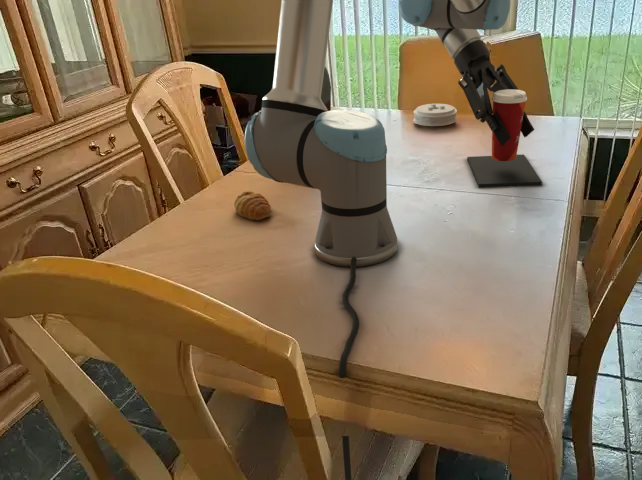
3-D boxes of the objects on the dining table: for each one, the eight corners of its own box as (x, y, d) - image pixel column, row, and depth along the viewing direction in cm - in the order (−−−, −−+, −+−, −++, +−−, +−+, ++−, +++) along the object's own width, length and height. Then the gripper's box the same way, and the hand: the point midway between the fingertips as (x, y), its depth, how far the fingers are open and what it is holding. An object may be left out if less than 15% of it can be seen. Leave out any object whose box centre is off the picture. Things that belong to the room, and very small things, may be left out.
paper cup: (527, 159, 142) (535, 93, 133) (498, 164, 139) (504, 98, 131) (508, 150, 147) (514, 87, 139) (480, 155, 145) (485, 91, 137)
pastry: (280, 216, 129) (278, 198, 127) (251, 225, 126) (248, 207, 124) (259, 204, 136) (257, 187, 133) (231, 212, 133) (228, 194, 130)
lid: (434, 115, 189) (435, 98, 186) (465, 123, 181) (466, 104, 178) (404, 124, 183) (404, 106, 180) (435, 132, 175) (435, 113, 172)
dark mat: (541, 185, 137) (542, 181, 137) (478, 187, 138) (478, 184, 137) (523, 157, 153) (523, 154, 153) (467, 159, 154) (467, 156, 153)
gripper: (486, 55, 147) (534, 137, 147) (426, 69, 137) (478, 158, 136) (506, 31, 140) (556, 117, 140) (445, 44, 130) (499, 137, 130)
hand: (517, 137), depth 138 cm, fingers closed on paper cup, 8 cm apart
